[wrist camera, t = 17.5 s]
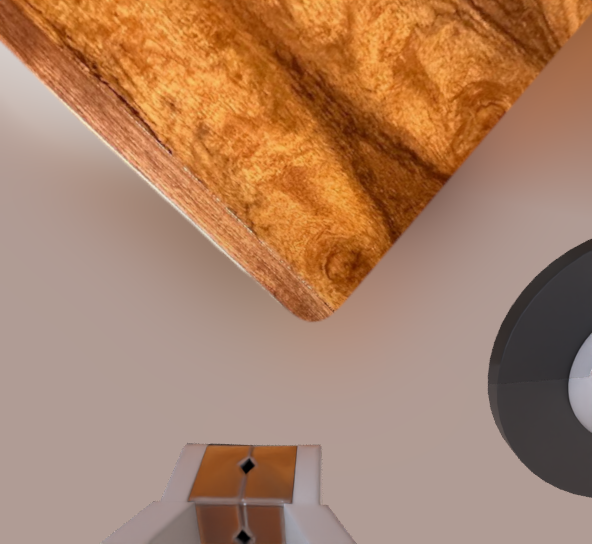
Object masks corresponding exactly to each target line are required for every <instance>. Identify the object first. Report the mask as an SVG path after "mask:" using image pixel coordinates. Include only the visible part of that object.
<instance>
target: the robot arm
mask: <svg viewBox="0 0 592 544" xmlns="http://www.w3.org/2000/svg"><path fill="white" fill-rule="evenodd" d="M568 393H569V400H570V404H571V407H572V410H573V412H574V414H575V416H576V417H577V419H578V420H579V422H580V423H581V424H582V425H583V426H584V427H585V428H586V429H587V430H589V431H590V432H591V433H592V333H591V334H590V336H589V337H588V338H587V339H586V340H585V342H584V343H583V345H582V346H581V348H580V349H579V351H578V353H577V355H576V357H575V359H574V362H573V364H572V368H571V371H570V376H569V383H568ZM100 544H356V542H355V541H354V540H353V539H352V537H351V536H350V534H349V533H348V532H347V530H346V529H345V528H344V526H343V525H342V524H341V523H340V521H339V520H338V518H337V517H336V516H335V514H334V513H333V512H332V510H331V509H330V508H329V507H328V505H323V495H322V452H321V446H320V445H298V446H296V445H294V446H293V445H288V446H287V445H282V446H281V445H254V446H253V445H232V444H231V445H230V444H192V443H187V445H185V447H184V448H183V449H182V452H181V454H180V456H179V459H178V461H177V463H176V466H175V468H174V470H173V473H172V475H171V477H170V480H169V482H168V485H167V487H166V489H165V491H164V494H163V496H162V499H161V501H153V502H152V503H151V504H149V505H148V506H147V507H146V508H144V509H143V510H142V511H140V512H139V513H138V514H137V515H135V516H134V517H133V518H132V519H130V520H129V521H128V522H126V523H125V524H124V525H123V526H121V527H120V528H119V529H117V530H116V531H115V532H114V533H112V534H111V535H110V536H108V537H107V538H106V539H105V540H103V541H102V542H101V543H100Z"/></svg>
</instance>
